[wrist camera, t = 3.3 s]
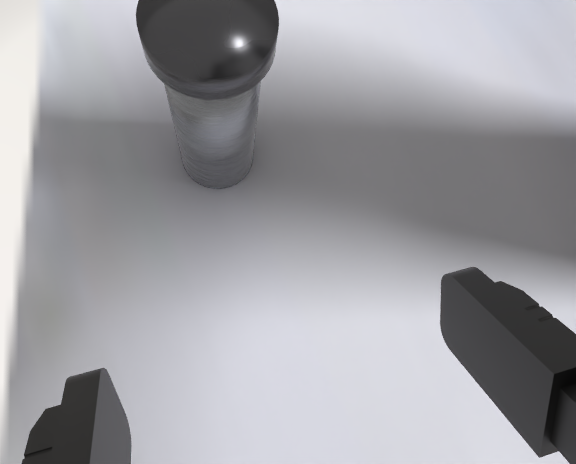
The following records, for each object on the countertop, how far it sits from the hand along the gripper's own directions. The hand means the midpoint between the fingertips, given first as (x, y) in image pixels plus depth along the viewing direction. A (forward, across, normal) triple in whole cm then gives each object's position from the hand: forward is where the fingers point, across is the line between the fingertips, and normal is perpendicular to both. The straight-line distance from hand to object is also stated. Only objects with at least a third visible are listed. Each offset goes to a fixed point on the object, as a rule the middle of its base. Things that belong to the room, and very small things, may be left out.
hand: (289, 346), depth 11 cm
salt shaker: (+16, 0, 0) cm, 16 cm away
